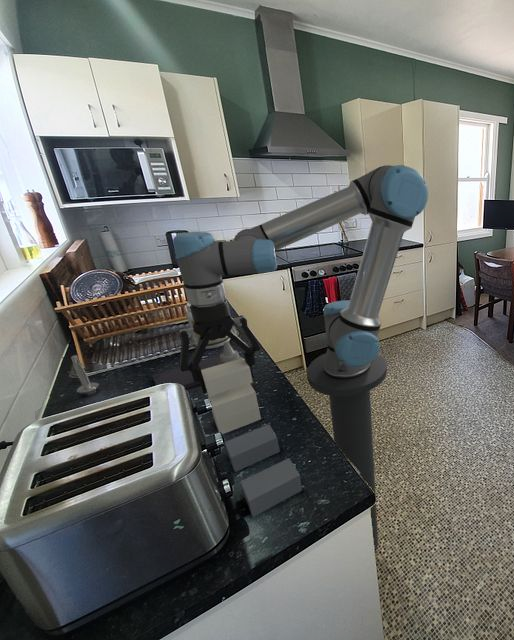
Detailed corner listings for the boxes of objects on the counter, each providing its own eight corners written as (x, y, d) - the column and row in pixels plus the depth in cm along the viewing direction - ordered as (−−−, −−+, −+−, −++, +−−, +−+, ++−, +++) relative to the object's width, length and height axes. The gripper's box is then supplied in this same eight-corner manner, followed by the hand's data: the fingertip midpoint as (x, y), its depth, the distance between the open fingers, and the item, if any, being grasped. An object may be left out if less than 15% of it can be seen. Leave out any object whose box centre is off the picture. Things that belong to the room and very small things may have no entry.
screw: (76, 399, 100) (84, 390, 104) (97, 396, 102) (104, 387, 106) (57, 361, 95) (66, 352, 99) (80, 358, 96) (88, 350, 100)
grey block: (272, 437, 88) (269, 423, 86) (280, 451, 84) (277, 437, 82) (228, 456, 82) (224, 442, 80) (234, 472, 78) (230, 457, 76)
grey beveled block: (292, 472, 78) (289, 457, 76) (302, 490, 74) (299, 475, 72) (244, 496, 72) (240, 481, 70) (252, 517, 68) (248, 501, 66)
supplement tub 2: (238, 340, 135) (228, 300, 128) (206, 353, 126) (194, 310, 119) (220, 333, 141) (210, 293, 134) (188, 344, 131) (176, 303, 125)
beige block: (251, 395, 97) (248, 381, 95) (258, 405, 92) (255, 392, 91) (211, 409, 91) (207, 395, 89) (216, 421, 86) (212, 407, 85)
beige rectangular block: (254, 408, 98) (251, 395, 97) (261, 419, 94) (258, 405, 92) (215, 422, 92) (211, 409, 91) (220, 435, 88) (216, 421, 86)
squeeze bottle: (219, 405, 99) (204, 350, 92) (228, 389, 106) (215, 337, 99) (250, 402, 101) (237, 348, 93) (256, 386, 108) (245, 335, 101)
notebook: (160, 397, 102) (237, 371, 115) (158, 393, 101) (236, 367, 115) (153, 379, 110) (226, 357, 124) (151, 375, 110) (225, 353, 123)
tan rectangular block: (246, 372, 93) (243, 357, 92) (252, 382, 89) (249, 367, 87) (204, 385, 88) (199, 370, 86) (208, 396, 83) (204, 381, 82)
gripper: (148, 318, 70) (177, 407, 79) (265, 296, 83) (278, 374, 92) (145, 307, 75) (173, 392, 84) (255, 288, 89) (269, 363, 98)
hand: (228, 383), depth 88 cm, fingers closed on tan rectangular block, 10 cm apart
